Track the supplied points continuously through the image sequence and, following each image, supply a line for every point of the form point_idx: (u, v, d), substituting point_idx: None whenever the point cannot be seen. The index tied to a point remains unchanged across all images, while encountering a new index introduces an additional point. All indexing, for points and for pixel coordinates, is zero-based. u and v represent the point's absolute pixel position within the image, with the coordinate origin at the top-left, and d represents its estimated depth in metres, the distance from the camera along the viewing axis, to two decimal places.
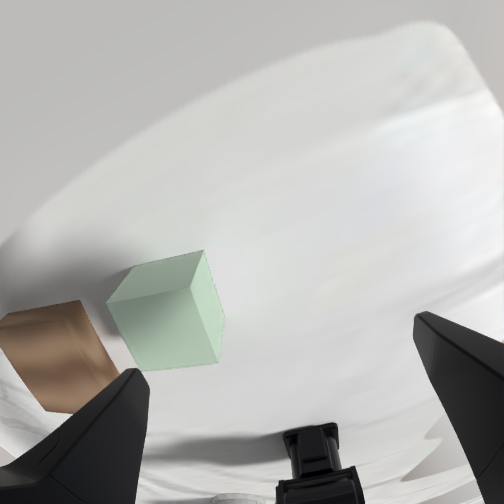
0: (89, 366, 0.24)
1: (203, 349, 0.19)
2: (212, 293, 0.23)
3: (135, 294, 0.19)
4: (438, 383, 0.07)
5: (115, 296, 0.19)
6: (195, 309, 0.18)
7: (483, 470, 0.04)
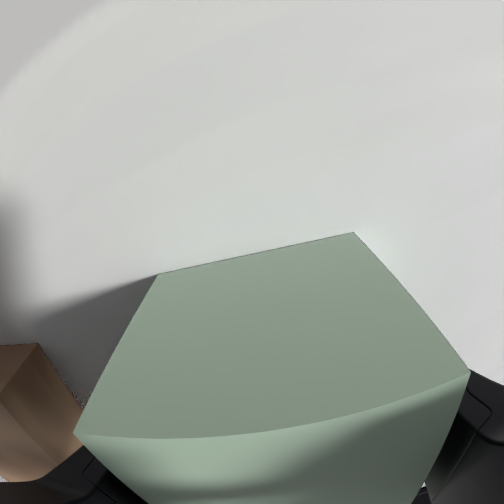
0: None
1: (394, 501, 0.05)
2: None
3: (199, 408, 0.04)
4: None
5: (107, 401, 0.04)
6: (442, 433, 0.04)
7: (437, 493, 0.05)
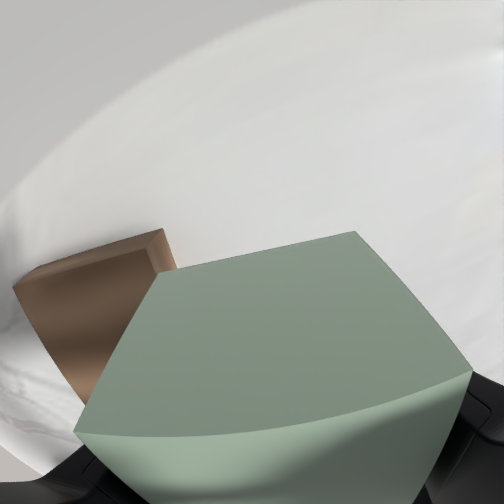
0: None
1: (396, 500, 0.05)
2: None
3: (200, 406, 0.04)
4: None
5: (107, 399, 0.04)
6: (444, 431, 0.04)
7: (437, 493, 0.05)
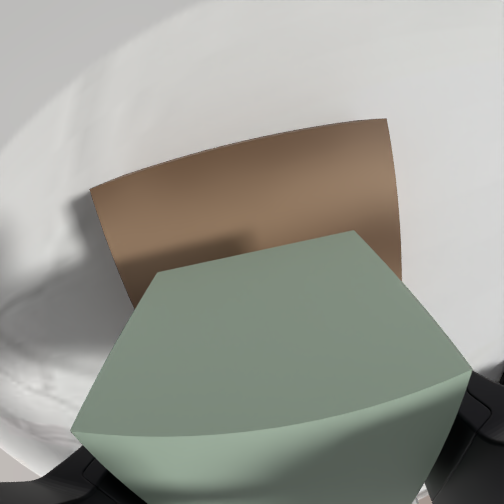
0: (399, 239, 0.12)
1: (395, 500, 0.05)
2: None
3: (197, 406, 0.04)
4: None
5: (105, 399, 0.04)
6: (443, 431, 0.04)
7: (437, 493, 0.05)
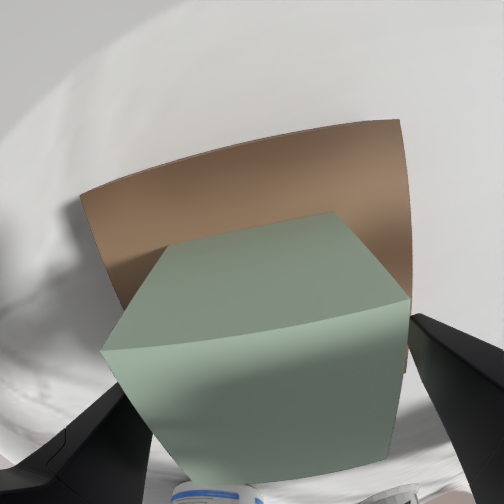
0: (410, 248, 0.11)
1: (369, 443, 0.07)
2: None
3: (203, 323, 0.06)
4: (431, 386, 0.07)
5: (129, 327, 0.06)
6: (398, 361, 0.06)
7: (476, 475, 0.04)
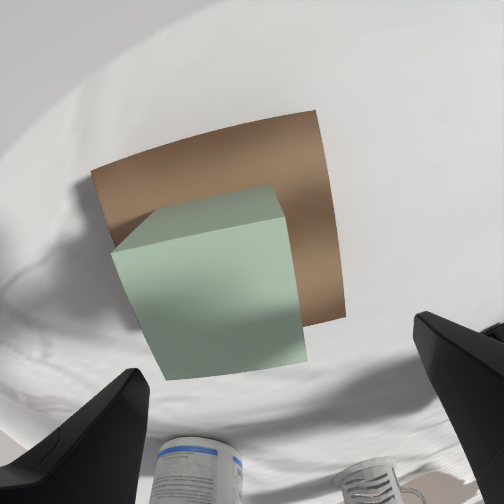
0: (332, 206, 0.16)
1: (287, 338, 0.11)
2: None
3: (170, 235, 0.10)
4: (438, 383, 0.07)
5: (128, 242, 0.11)
6: (287, 261, 0.10)
7: (483, 470, 0.04)
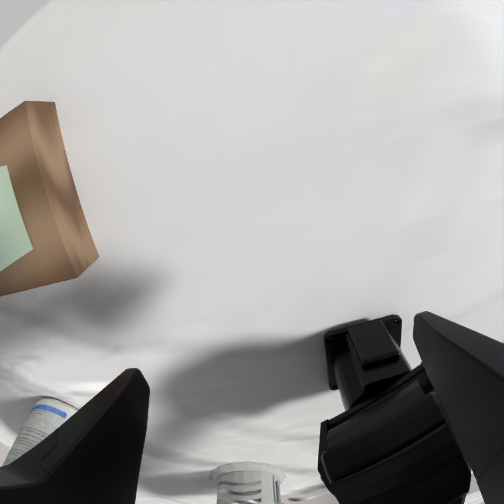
0: (42, 174, 0.15)
1: None
2: (3, 213, 0.14)
3: None
4: (438, 383, 0.07)
5: None
6: None
7: (483, 470, 0.04)
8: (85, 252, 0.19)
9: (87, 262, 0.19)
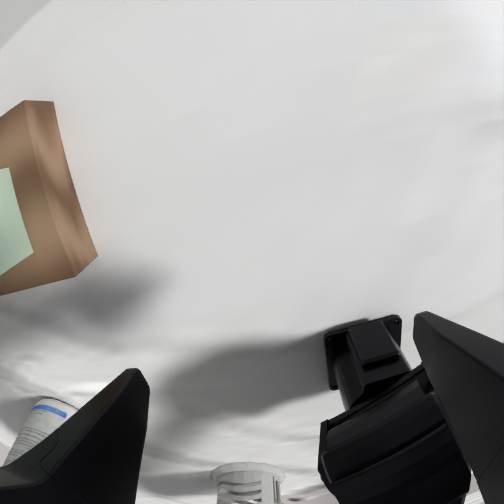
0: (41, 173, 0.15)
1: None
2: (4, 216, 0.14)
3: None
4: (438, 383, 0.07)
5: None
6: None
7: (483, 470, 0.04)
8: (83, 251, 0.19)
9: (86, 261, 0.19)
